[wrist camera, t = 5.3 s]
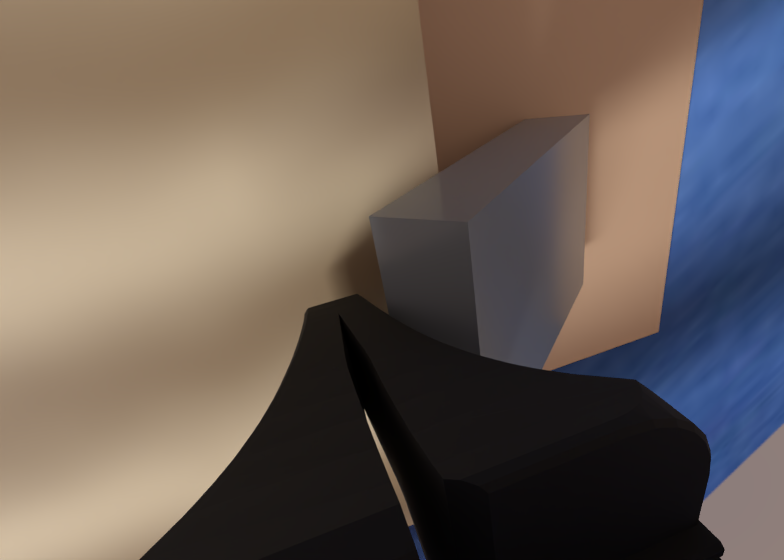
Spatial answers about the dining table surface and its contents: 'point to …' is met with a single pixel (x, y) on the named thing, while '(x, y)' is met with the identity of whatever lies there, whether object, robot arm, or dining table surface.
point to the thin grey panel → (492, 243)
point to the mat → (606, 129)
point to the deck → (179, 238)
